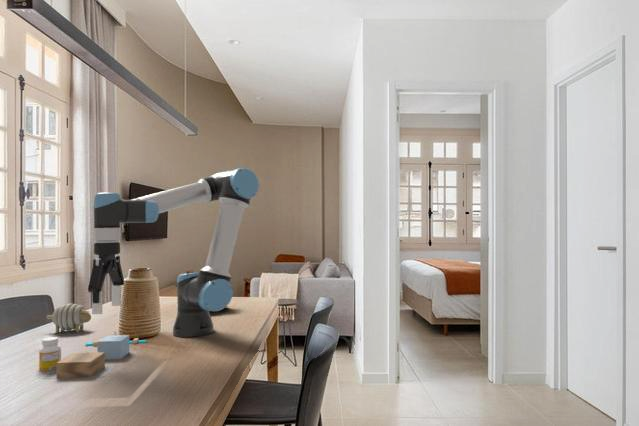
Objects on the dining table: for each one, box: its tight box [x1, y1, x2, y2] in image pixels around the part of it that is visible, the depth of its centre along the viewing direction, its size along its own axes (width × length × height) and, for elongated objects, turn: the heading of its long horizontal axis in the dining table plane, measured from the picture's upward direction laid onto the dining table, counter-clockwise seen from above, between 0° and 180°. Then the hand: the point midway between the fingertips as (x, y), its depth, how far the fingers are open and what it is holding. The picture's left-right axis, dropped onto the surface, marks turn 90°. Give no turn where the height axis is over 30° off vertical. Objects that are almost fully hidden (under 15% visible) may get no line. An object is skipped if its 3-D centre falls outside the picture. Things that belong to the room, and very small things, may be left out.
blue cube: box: [96, 334, 130, 360], centre depth 143 cm, size 7×7×7 cm
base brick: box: [56, 352, 106, 379], centre depth 128 cm, size 9×9×4 cm
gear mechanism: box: [85, 330, 147, 347], centre depth 164 cm, size 20×5×9 cm
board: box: [42, 365, 119, 380], centre depth 128 cm, size 16×10×2 cm, turn 93°
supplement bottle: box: [38, 336, 62, 371], centre depth 133 cm, size 5×5×10 cm
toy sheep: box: [45, 302, 92, 334], centre depth 182 cm, size 11×17×11 cm, turn 98°
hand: (107, 309), depth 145 cm, fingers open, 13 cm apart
